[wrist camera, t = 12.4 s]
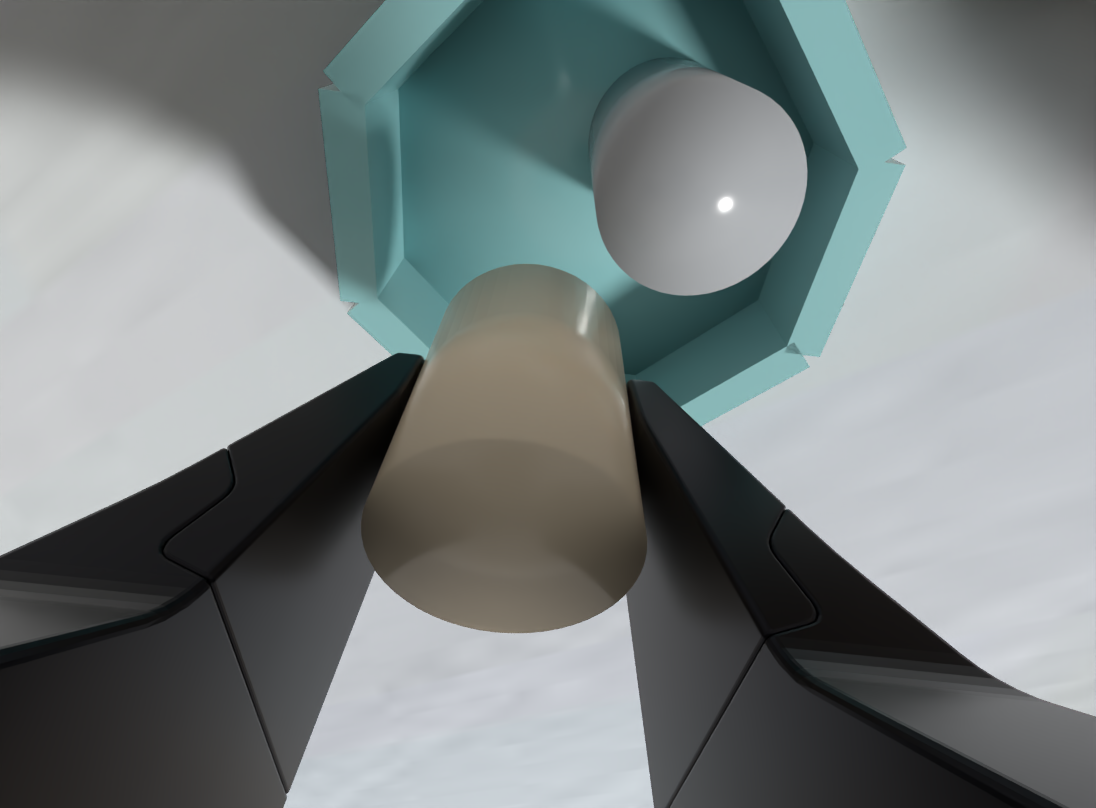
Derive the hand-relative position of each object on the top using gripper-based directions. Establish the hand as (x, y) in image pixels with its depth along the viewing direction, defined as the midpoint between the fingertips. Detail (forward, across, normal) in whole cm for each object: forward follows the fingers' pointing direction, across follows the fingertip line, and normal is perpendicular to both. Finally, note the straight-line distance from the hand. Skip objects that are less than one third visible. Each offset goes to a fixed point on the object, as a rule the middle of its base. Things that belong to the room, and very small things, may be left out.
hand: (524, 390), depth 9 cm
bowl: (+7, -1, -1) cm, 7 cm away
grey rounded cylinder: (+6, -2, -3) cm, 7 cm away
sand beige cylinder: (+1, 0, 0) cm, 1 cm away
